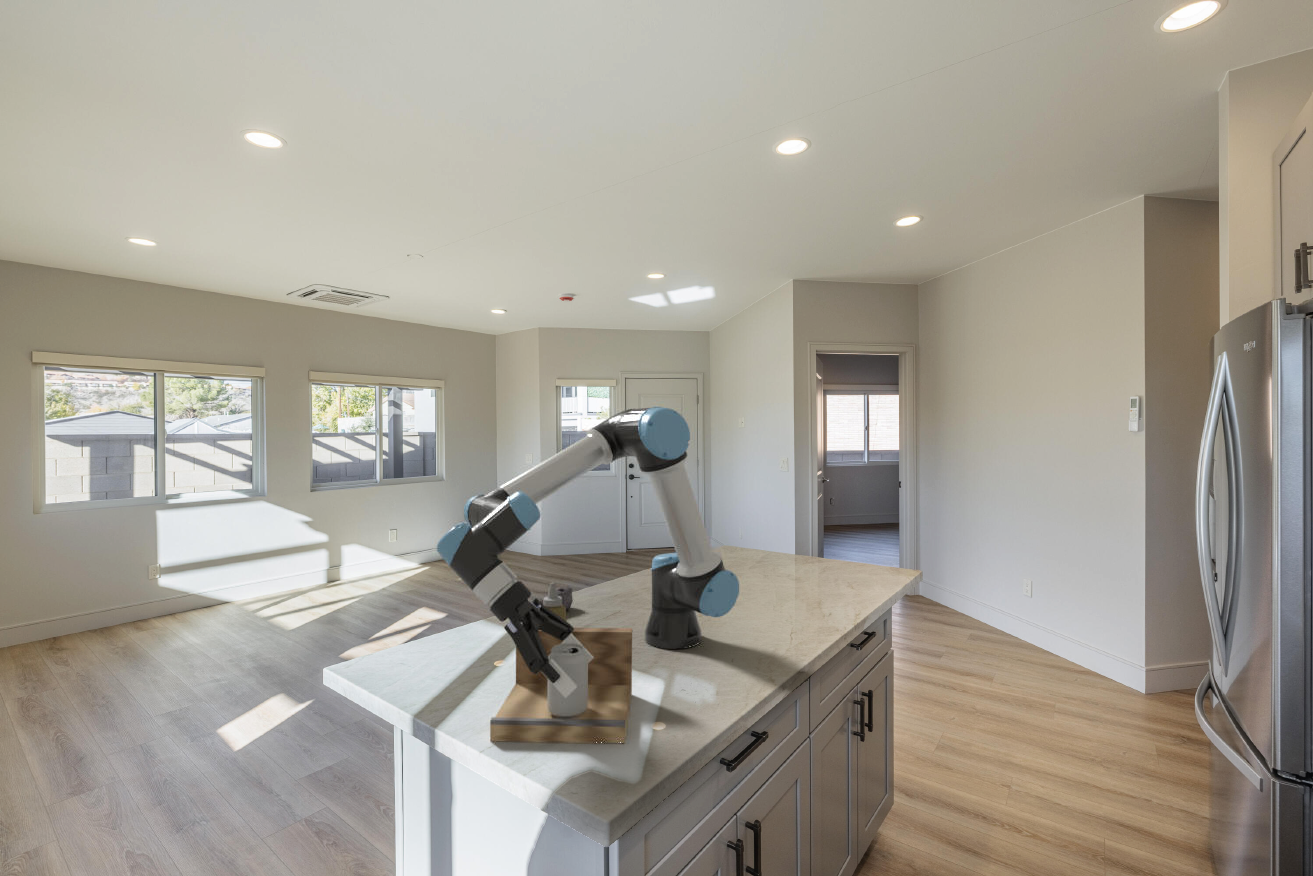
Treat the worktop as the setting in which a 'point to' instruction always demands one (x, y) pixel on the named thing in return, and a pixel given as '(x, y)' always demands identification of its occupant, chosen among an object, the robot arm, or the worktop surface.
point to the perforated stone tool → (564, 596)
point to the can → (576, 668)
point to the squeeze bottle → (555, 602)
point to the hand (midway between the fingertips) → (580, 676)
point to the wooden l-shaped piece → (606, 695)
